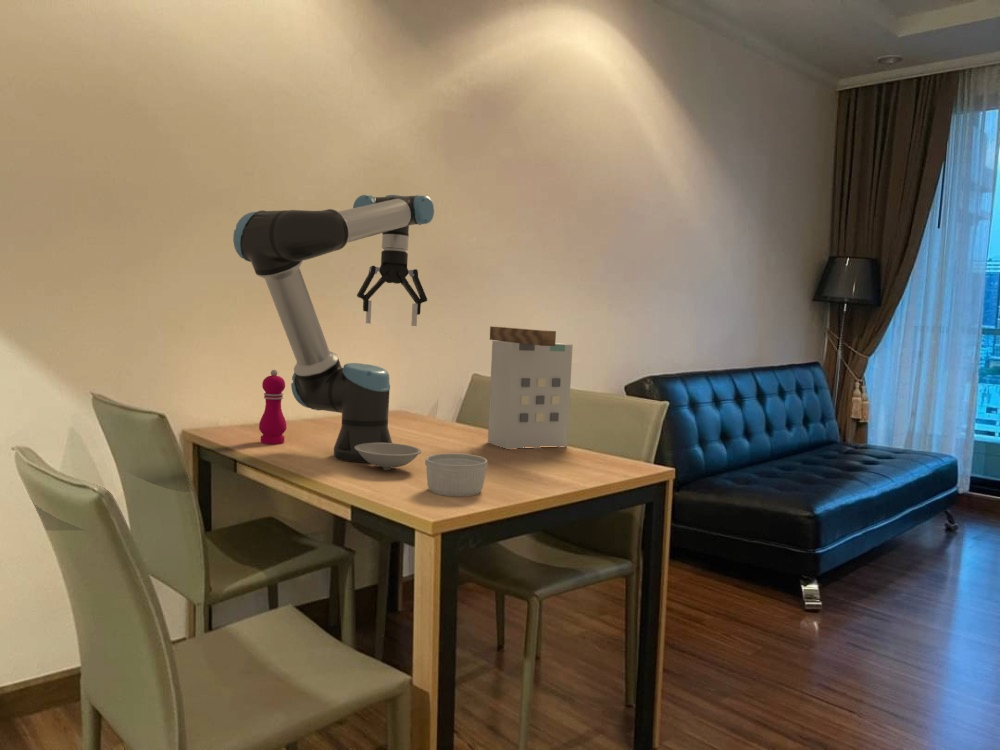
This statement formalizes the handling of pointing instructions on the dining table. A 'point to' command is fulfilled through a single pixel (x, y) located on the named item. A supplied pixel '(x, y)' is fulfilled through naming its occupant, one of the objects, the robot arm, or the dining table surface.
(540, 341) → the walnut rod
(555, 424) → the tall patterned block
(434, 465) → the ramekin
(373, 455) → the dish
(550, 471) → the dining table surface
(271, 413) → the pepper mill
